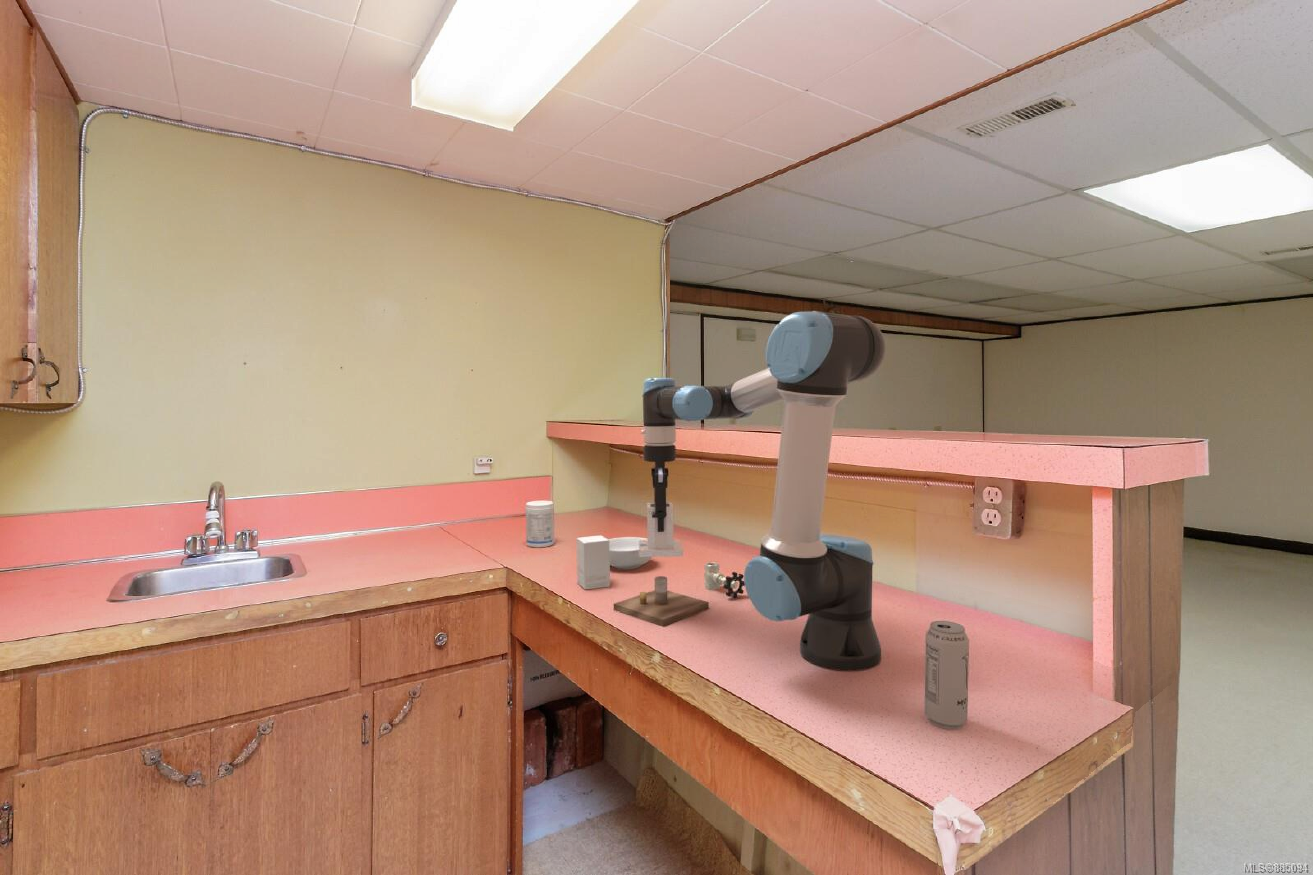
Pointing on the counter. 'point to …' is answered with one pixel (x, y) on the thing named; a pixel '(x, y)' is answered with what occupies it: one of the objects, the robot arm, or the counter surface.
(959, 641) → the energy drink can
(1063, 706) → the counter surface
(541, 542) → the supplement tub
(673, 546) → the white hollow block
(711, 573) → the valve
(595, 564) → the supplement box
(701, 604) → the base board
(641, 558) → the cereal bowl
